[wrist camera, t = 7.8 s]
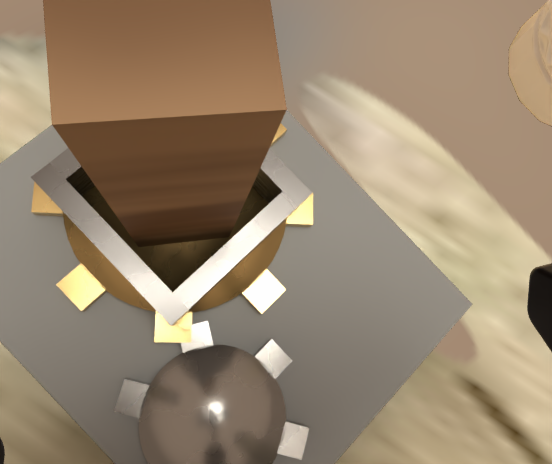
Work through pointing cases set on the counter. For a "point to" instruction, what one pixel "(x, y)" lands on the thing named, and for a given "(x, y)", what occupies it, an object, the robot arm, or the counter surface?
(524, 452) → the counter surface
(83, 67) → the peg
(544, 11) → the white cup
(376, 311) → the board
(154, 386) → the gears
